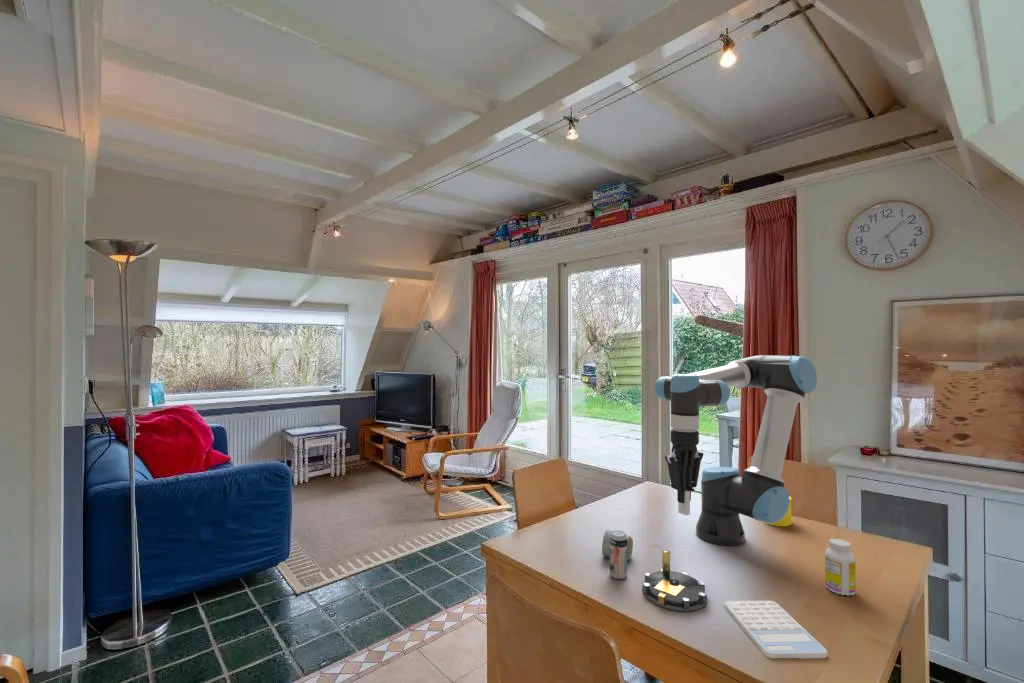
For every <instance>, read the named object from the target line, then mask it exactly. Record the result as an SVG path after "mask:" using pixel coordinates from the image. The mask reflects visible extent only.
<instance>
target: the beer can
mask: <svg viewBox="0 0 1024 683" xmlns="http://www.w3.org/2000/svg"><path fill="white" fill-rule="evenodd" d="M612 531H613V532H612V533H611V535H610V557H609V575H610V577H611V578H613V579H616V580H624V579H625V578H627V576H628V560H627V536H626V535H627V534H626V533H625V532H624V531H621V530H612Z"/></svg>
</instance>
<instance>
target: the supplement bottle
mask: <svg viewBox="0 0 1024 683" xmlns="http://www.w3.org/2000/svg"><path fill="white" fill-rule="evenodd" d="M828 544H829V547H828V548H827V549H825V551H824V581H825V583H824V584H825V587H826V589H827V588H828V589H827V590H828V591H830V592H831V591H832V593H833V592H835V593H834V594H836V593H837V594H836V595H839V594H841V595H840V596H843V595H847V596H846V597H850V596H849V595H852V596H854V595H855V594H856V589H857V588H856V586H857V585H856V584H857V582H856V580H857V579H856V557H855V555H854V554H853V553H852V552H851V549H852V546H851V543H850V542H848V541H847V540H845V539H839V538H831V539H829V540H828Z"/></svg>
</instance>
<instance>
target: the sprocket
mask: <svg viewBox="0 0 1024 683" xmlns="http://www.w3.org/2000/svg"><path fill="white" fill-rule="evenodd" d="M661 553H662V557H661V558H662V561H661V562H662V563H661V564H662V565H661V567H662V568H661V569H660V570H659V571H658V570H657V571H654V572H651V573H649V572H646V573H645V574H644V583H643V584H644V592H645V594H650V595H651V596H652V597H653V598H655V599H656V600H658V603H660V604H662V605H664V604H668V605H673V606H679V607H683V608H684V609H690V606H694V605H697V604H699V603H702V604H704V603H705V602H706V595H707V593H706V585H705V583H704V582H703V581H699V580H697V579H696V578H695V577H692V576H690V574H689V573H688V572H685V571H682V572H679V571H674V570H671V551H670V550H668V549H662V552H661ZM645 582H646V583H645ZM703 592H705V593H703Z"/></svg>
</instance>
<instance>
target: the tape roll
mask: <svg viewBox="0 0 1024 683" xmlns="http://www.w3.org/2000/svg"><path fill="white" fill-rule="evenodd" d="M789 498H790V504H789V508H788V510H787V512H786V514H785V516H784V517H783V518H782V519H780V520H779V521H778V522H776V523H766V522H764V524H765V523H766V524H765V525H768V524H770V525H769V526H772V525H775V526H774V527H777V526H789V525H791V526H792V497H791V496H790V495H789ZM761 522H762V523H763V521H761ZM789 527H790V526H789Z"/></svg>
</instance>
